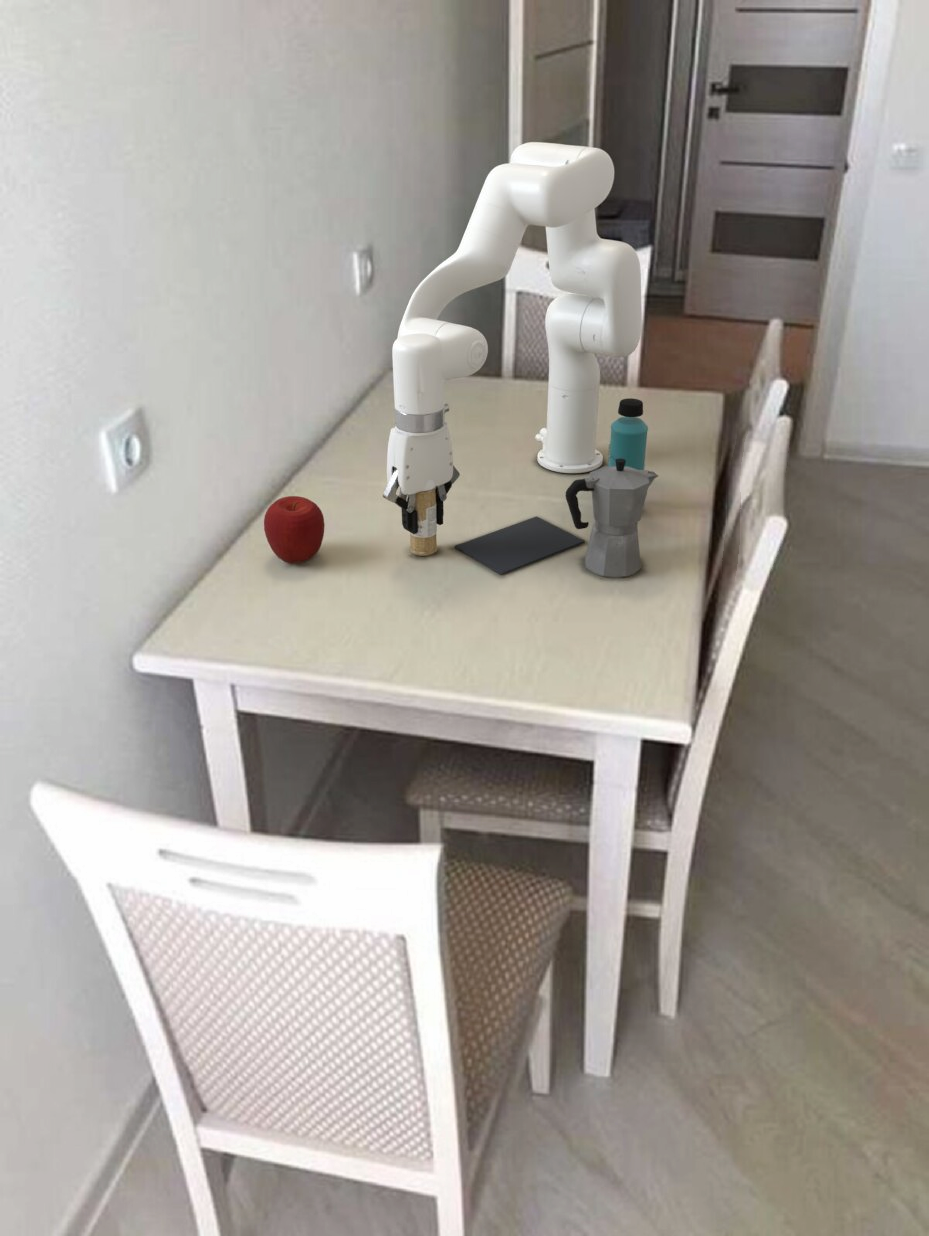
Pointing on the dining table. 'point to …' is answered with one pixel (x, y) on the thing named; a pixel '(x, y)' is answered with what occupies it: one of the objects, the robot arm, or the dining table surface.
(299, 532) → the apple
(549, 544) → the mat
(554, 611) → the dining table surface
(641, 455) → the beverage bottle
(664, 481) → the dining table surface
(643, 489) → the coffeepot
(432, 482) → the sprinkles bottle
